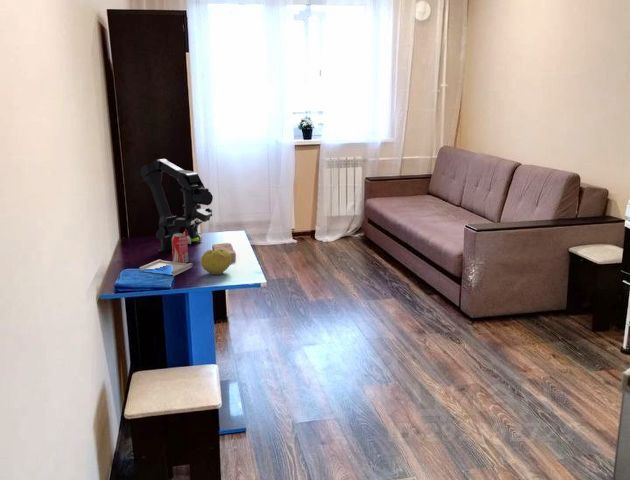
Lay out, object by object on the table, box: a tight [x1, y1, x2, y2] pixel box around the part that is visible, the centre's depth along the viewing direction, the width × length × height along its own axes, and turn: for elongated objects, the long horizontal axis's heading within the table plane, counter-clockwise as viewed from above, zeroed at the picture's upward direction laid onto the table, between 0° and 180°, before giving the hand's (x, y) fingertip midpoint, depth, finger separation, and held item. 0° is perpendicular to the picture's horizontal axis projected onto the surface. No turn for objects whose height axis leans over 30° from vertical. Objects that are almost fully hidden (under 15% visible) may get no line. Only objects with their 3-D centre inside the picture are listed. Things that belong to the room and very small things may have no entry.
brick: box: [211, 242, 237, 263], centre depth 254 cm, size 17×8×5 cm, turn 15°
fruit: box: [200, 249, 232, 276], centre depth 230 cm, size 11×12×10 cm
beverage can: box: [172, 232, 189, 264], centre depth 245 cm, size 6×6×12 cm
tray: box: [138, 259, 194, 277], centre depth 237 cm, size 16×13×2 cm
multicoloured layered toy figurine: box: [183, 228, 203, 245], centre depth 279 cm, size 8×10×7 cm
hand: (192, 238), depth 253 cm, fingers closed
